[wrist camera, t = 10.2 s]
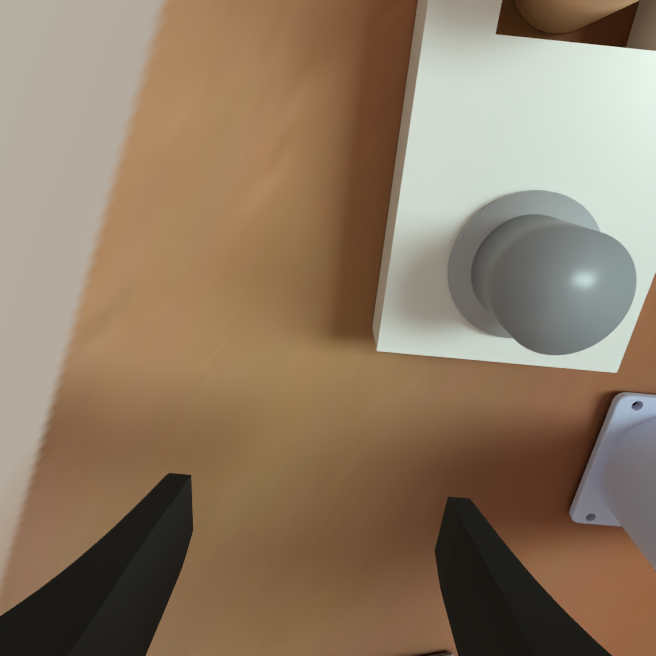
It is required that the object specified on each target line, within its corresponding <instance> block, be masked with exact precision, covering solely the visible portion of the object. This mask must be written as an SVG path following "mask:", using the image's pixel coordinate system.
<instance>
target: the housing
mask: <svg viewBox="0 0 656 656" xmlns="http://www.w3.org/2000/svg"><path fill="white" fill-rule="evenodd" d="M501 4H502V0H418V3H417V10H416V17H415V24H414V32H413V39H412V46H411V53H410V60H409V67H408V75H407V82H406V89H405V96H404V103H403V110H402V118H401V125H400V132H399V139H398V146H397V153H396V161H395V168H394V175H393V182H392V189H391V196H390V204H389V211H388V218H387V225H386V232H385V239H384V247H383V254H382V261H381V268H380V275H379V282H378V290H377V297H376V304H375V311H374V318H373V325H372V330H373V335H374V340H375V345H376V350H377V351H382V352H393V353H404V354H415V355H426V356H437V357H448V358H459V359H470V360H481V361H492V362H504V363H515V364H526V365H537V366H548V367H559V368H570V369H581V370H592V371H603V372H614V373H617V371H618V369H619V366H620V363H621V361H622V358H623V356H624V353H625V350H626V348H627V345H628V342H629V340H630V337H631V335H632V332H633V329H634V327H635V324H636V322H637V319H638V316H639V314H640V311H641V309H642V306H643V303H644V301H645V298H646V296H647V293H648V290H649V288H650V285H651V283H652V280H653V277H654V275H655V272H656V0H640V1H639V4H638V7H637V11H636V14H635V18H634V21H633V24H632V28H631V31H630V34H629V38H628V41H627V44H626V48H623V47H613V46H604V45H594V44H584V43H575V42H565V41H555V40H546V39H536V38H527V37H517V36H507V35H498V34H496V29H497V24H498V19H499V14H500V9H501Z"/></svg>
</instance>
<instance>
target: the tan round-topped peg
mask: <svg viewBox="0 0 656 656" xmlns="http://www.w3.org/2000/svg"><path fill="white" fill-rule="evenodd" d="M637 1H639V0H514V3H515V5H516V7H517V9H518V11H519V13H520V14H521V16H522V17H523V18H524V19H525V20H526V21H527V22H528V23H529V24H530V25H531V26H533V27H534V28H536V29H538V30H540V31H543V32H546V33H552V34H562V33H568V32H572V31H575V30H578V29H580V28H582V27H584V26H586V25H589V24H591V23H593V22H595V21H597V20H599V19H601V18H603V17H605V16H607V15H610V14H612V13H614V12H616V11H618V10H620V9H622V8H624V7H626V6H629V5H631V4H633V3H635V2H637Z"/></svg>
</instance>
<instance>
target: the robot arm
mask: <svg viewBox="0 0 656 656" xmlns="http://www.w3.org/2000/svg"><path fill="white" fill-rule="evenodd" d="M636 401H638V402H637V403H636V405H634V406H632V405H633V403H635V402H636ZM569 515H570V517H571V518H572V520H573V521H574V522H577V523H585V524H597V525H609V526H620V527H623V529H624V530H625V531H626V533H627V534H628V535H629V537H630V538H631V539H632V541H633V542H634V543H635V545H636V546H637V547H638V549H639V550H640V551H641V552H642V554H643V555H644V556H645V558H646V559H647V560H648V562H649V563H650V564H651V566H652V567H653V568H654V570H655V571H656V395H652V394H641V393H630V392H622V393H620V394H618V395H616V396H615V397H614V399H613V400H612V403H611V405H610V408H609V410H608V413H607V416H606V418H605V421H604V423H603V426H602V428H601V431H600V434H599V436H598V439H597V441H596V444H595V446H594V449H593V451H592V454H591V457H590V459H589V462H588V464H587V467H586V469H585V472H584V475H583V477H582V480H581V482H580V485H579V487H578V490H577V493H576V495H575V498H574V500H573V503H572V505H571V508H570V511H569ZM192 532H193V516H192V486H191V475H185V474H173V473H169V474H167V475H166V476H165V477H164V478H163V479H162V480H161V481H160V482H159V483H158V484H157V485H156V486H155V487H154V488H153V489H152V490H151V491H150V492H149V493H148V494H147V495H146V496H145V497H144V498H143V499H142V500H141V501H140V502H139V503H138V504H137V505H136V506H135V507H134V508H133V509H132V510H131V511H130V512H129V513H128V514H127V515H126V516H125V517H124V518H123V519H122V520H121V521H120V522H119V523H118V524H117V525H116V526H115V527H113V528H112V529H111V530H110V531H109V532H108V533H107V534H106V535H105V536H104V537H103V538H101V539H100V540H99V541H98V542H97V543H96V544H94V545H93V546H92V547H91V548H90V549H89V550H88V551H86V552H85V553H84V554H83V555H82V556H81V557H79V558H78V559H77V560H76V561H75V562H73V563H72V564H71V565H70V566H68V567H67V568H66V569H65V570H64V571H62V572H61V573H60V574H58V575H57V576H56V577H55V578H53V579H52V580H51V581H49V582H48V583H47V584H45V585H44V586H43V587H41V588H40V589H39V590H37V591H36V592H35V593H33V594H32V595H30V596H29V597H28V598H26V599H25V600H23V601H22V602H20V603H19V604H18V605H16V606H15V607H13V608H12V609H10V610H9V611H7V612H6V613H4V614H3V615H2V616H0V656H146V653H147V651H148V648H149V646H150V644H151V641H152V639H153V636H154V634H155V632H156V629H157V627H158V625H159V622H160V620H161V617H162V615H163V613H164V610H165V608H166V605H167V603H168V601H169V598H170V596H171V593H172V591H173V589H174V586H175V584H176V581H177V579H178V577H179V574H180V572H181V569H182V566H183V563H184V560H185V556H186V553H187V550H188V546H189V543H190V539H191V536H192ZM435 555H436V562H437V569H438V576H439V582H440V588H441V592H442V596H443V600H444V604H445V608H446V611H447V615H448V619H449V623H450V626H451V630H452V634H453V637H454V641H455V645H456V649H457V652H458V656H612V655H611V654H609V653H608V652H607V651H606V650H605V649H604V648H603V647H602V646H601V645H600V644H598V643H597V642H596V641H595V640H594V639H593V638H592V637H591V636H590V635H589V634H588V633H587V632H586V631H585V630H584V629H583V628H582V627H581V626H580V625H579V624H578V623H576V622H575V621H574V620H573V619H572V618H571V617H570V616H569V615H568V614H567V613H566V612H565V611H564V610H563V609H562V608H561V607H560V606H559V605H558V604H557V602H556V601H555V600H554V599H553V598H552V597H551V596H550V595H549V594H548V593H547V592H546V591H545V589H544V588H543V587H542V586H541V585H540V584H539V583H538V582H537V581H536V580H535V579H534V577H533V576H532V575H531V574H530V573H529V572H528V570H527V569H526V568H525V567H524V566H523V565H522V563H521V562H520V561H519V560H518V559H517V557H516V556H515V555H514V554H513V553H512V551H511V550H510V549H509V548H508V546H507V545H506V544H505V543H504V542H503V540H502V539H501V538H500V536H499V535H498V534H497V533H496V531H495V530H494V529H493V528H492V526H491V525H490V524H489V522H488V521H487V520H486V519H485V517H484V516H483V515H482V514H481V512H480V511H479V510H478V508H477V507H476V506H475V505H474V503H473V502H472V501H471V500H470V499H468V498H456V497H448V500H447V504H446V508H445V512H444V516H443V520H442V524H441V528H440V532H439V536H438V540H437V544H436V548H435Z"/></svg>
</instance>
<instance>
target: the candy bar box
mask: <svg viewBox="0 0 656 656" xmlns="http://www.w3.org/2000/svg"><path fill="white" fill-rule="evenodd" d="M429 656H454V654H453V653H442V654H436V655H429Z"/></svg>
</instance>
